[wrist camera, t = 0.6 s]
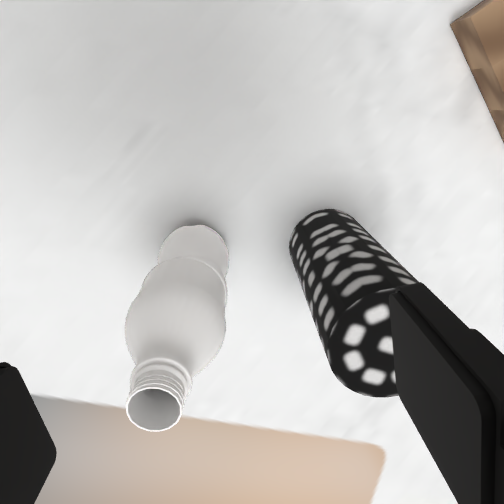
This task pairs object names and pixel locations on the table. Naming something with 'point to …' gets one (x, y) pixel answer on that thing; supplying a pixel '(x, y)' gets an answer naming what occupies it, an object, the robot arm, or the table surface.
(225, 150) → the table surface
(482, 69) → the block
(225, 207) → the table surface
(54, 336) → the table surface
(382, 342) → the white-spotted black cylinder
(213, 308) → the water bottle
